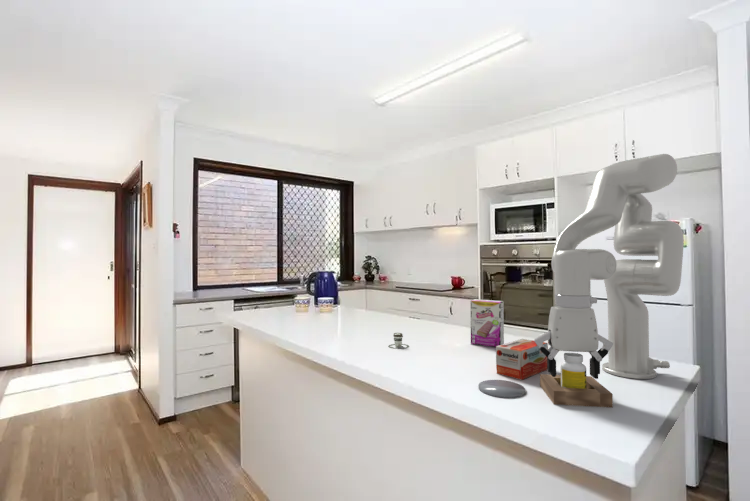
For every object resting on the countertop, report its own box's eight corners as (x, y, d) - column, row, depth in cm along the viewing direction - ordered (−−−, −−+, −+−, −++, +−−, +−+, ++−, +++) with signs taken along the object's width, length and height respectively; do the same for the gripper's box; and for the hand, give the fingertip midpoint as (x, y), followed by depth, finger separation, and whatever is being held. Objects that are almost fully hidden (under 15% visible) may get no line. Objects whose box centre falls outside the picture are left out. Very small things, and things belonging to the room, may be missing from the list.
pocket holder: (591, 388, 95) (591, 376, 95) (612, 407, 83) (612, 393, 83) (540, 386, 97) (539, 374, 97) (553, 404, 85) (553, 390, 85)
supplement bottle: (590, 401, 87) (589, 358, 87) (564, 399, 88) (563, 356, 88) (582, 392, 92) (581, 352, 92) (558, 391, 93) (557, 351, 93)
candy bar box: (470, 344, 141) (469, 300, 141) (474, 341, 146) (473, 298, 146) (501, 348, 135) (500, 302, 136) (504, 345, 140) (504, 300, 140)
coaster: (520, 383, 99) (520, 380, 99) (529, 399, 88) (529, 396, 88) (476, 381, 101) (476, 378, 101) (480, 396, 90) (480, 393, 90)
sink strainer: (419, 345, 142) (419, 332, 142) (404, 352, 132) (404, 338, 132) (391, 341, 148) (391, 328, 148) (375, 348, 138) (375, 334, 138)
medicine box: (522, 363, 117) (522, 337, 117) (549, 369, 111) (548, 342, 111) (495, 374, 107) (494, 345, 107) (522, 381, 101) (522, 351, 101)
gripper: (605, 300, 92) (606, 373, 92) (529, 299, 95) (530, 369, 95) (620, 305, 85) (621, 383, 85) (537, 303, 88) (538, 379, 88)
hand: (573, 375), depth 90 cm, fingers open, 8 cm apart
